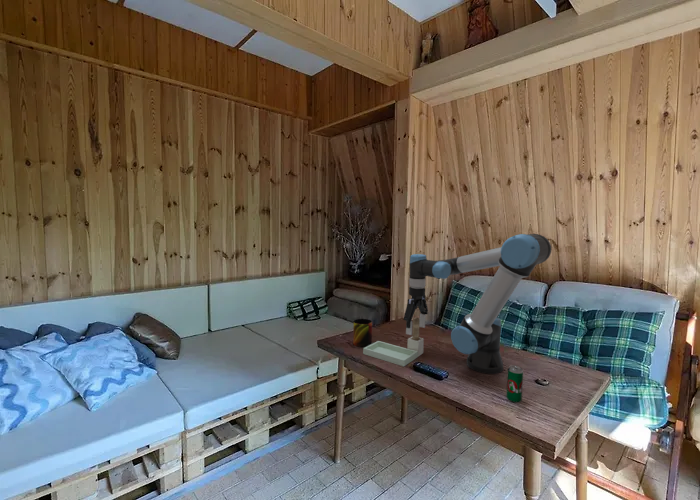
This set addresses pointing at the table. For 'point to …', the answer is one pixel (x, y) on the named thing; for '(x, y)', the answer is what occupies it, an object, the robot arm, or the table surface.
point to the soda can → (514, 383)
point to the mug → (362, 332)
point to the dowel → (416, 329)
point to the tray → (390, 353)
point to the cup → (416, 345)
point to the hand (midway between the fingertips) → (415, 330)
